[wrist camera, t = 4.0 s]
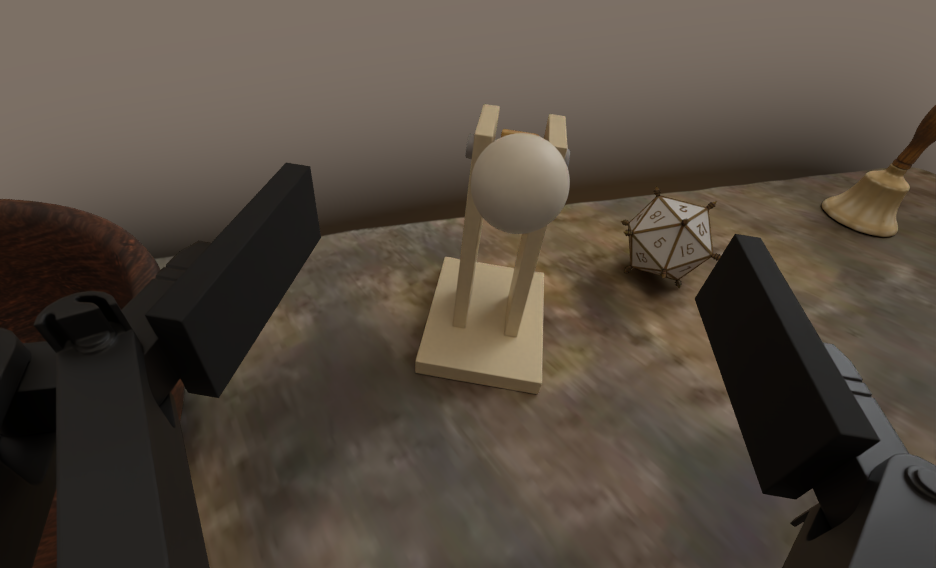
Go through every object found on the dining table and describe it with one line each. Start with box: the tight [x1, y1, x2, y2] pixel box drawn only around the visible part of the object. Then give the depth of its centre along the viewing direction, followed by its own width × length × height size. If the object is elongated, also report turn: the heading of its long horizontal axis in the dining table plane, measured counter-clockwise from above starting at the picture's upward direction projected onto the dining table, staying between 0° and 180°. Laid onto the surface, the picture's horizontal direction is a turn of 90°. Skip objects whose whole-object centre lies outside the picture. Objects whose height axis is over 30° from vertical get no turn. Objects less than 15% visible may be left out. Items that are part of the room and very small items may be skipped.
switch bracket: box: [415, 104, 570, 394], centre depth 31 cm, size 12×9×17 cm
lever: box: [471, 129, 570, 234], centre depth 21 cm, size 14×4×4 cm, turn 172°
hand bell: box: [822, 105, 936, 237], centre depth 51 cm, size 8×8×16 cm
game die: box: [621, 187, 721, 288], centre depth 42 cm, size 9×8×10 cm
